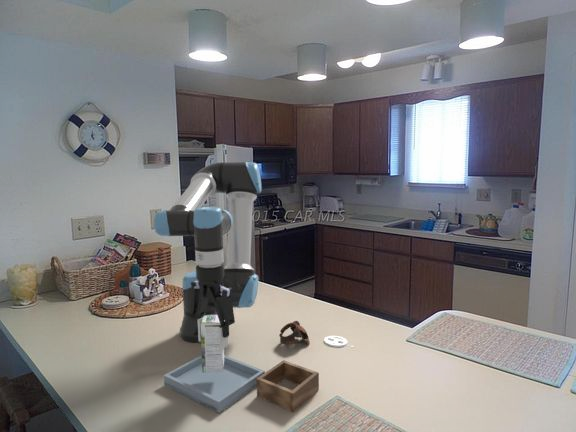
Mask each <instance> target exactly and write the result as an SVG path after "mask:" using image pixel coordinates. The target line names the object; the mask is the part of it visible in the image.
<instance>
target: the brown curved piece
mask: <svg viewBox="0 0 576 432" xmlns="http://www.w3.org/2000/svg"><path fill="white" fill-rule="evenodd" d="M288 329H291V332H292V333H290V334H289V335H287V336H285V335H284V333H285V332H286V331H287V330H288ZM279 337H280V340H279V342H280V343H281V344H283V345H289V344H292V343H293V344H296V338H297V339H298V338H300V339H302V340H305V341H306V344H307V346H310V339H309V335H308V332H307V331H306V328H304V326H302V325H301V324H300V322H299V320H294V321H293V322H289V323H286V324H285V325H284V326H283V327H282V328H281V329H280V333H279Z"/></svg>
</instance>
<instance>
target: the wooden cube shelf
mask: <svg viewBox="0 0 576 432" xmlns="http://www.w3.org/2000/svg"><path fill="white" fill-rule="evenodd" d="M319 376H320V374H319V372H318V371H315V370H312V369H309V368H307V367H304V366H301V365H299V364H295V363H293V362H290V361H287V360H284V359H283V360H282V361H280V362H278V363H277V364H276V365H274V366H273V367H272V368H270V369H268V370H267V371H266V372H265V373H264V374H263V375H261V376H260V377H258V378H257V387H256V396H257V397H259V398H260V399H263V400H265V401H267V402H270V403H271V404H274V405H276V406H279V407H281V408H283V409H285V410H287V411H290V412H291V413H294V412H296V411H297V410H298V409H299V408H300V407H301V406H302V405H304V403H306V401H308V400H309V399H310V398H311V397H312V396H314V394H316V393H317V392H318V391H319V390H320V385H319V384H320V383H319V382H320V381H319V380H320V379H319V378H320V377H319ZM284 380H286V381H288V382H292V383H295V384H297V386H296V387H295V388H294V389H290V388H287V387H284V386H282V385H280V383H281V382H282V381H284Z"/></svg>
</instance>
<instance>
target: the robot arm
mask: <svg viewBox="0 0 576 432" xmlns="http://www.w3.org/2000/svg"><path fill="white" fill-rule="evenodd" d="M260 193H262V178H261V173H260V168H259V165H258V163H256V162H253V161H250V162H249V161H244V162H243V161H242V162H237V161H235V162H233V161H231V162H222V161H221V162H214V163H211V164H209V165H206V166H204V167H203V168H201V169H200V170H198V171H197V172H196V173H194V175H193V176H192V177H191V179H190V183H189V185H188V187H187V188H186V189H185V191H184V192H183V193H182V194H181V196H180V197H179V198H178V199H177V200H176V202H175V203H174V204H173V205H172V207H171V208H170V209H169V210H166V209H165V210H159V211H157V212H156V213H155V215H154V218H153V227H154V232H155V233H156V235H158V236H162V237H163V236H164V237H194V252H195V253H194V254H195V264H196V266H195V270H193V271H190V272H188V273H185V275H184V276H183V277H182V287H181V290H182V303H183V317H182V321H181V322H182V323H181V326H180V329H179V337H180V339H181V340H183V341H185V342H186V343H187V342H189V343H197V344H198V343H201V323H202V320H203V317H204V316H206V315H218V318H219V321H220V324H221V325H220V326H218V328H219V349H221V350H222V349H224V350H225V348H228V346H229V336H230V326H232V325H233V324H235V322H236V321H235V319H236V318H235V313H234V308H235V309H236V308H237V309H243V308H250V307H253V306H254V304H255V301H256V298H257V295H258V290H259V275H257V274H256V273H255V269H254V268H253V267H252V265H251V259H252V258H251V256H252V255H251V254H252V234H253V233H252V229H253V228H252V227H253V224H252V223H253V205H254V203H253V202H254V201H256V200H257V198H258V194H260ZM214 194H225V197H226V198H227V200H228V201H229V209H228V210H229V211H228V210H226V209H223V208H220V207H219V206H204V205H205V202H206V201H207V200H208V198H210V197H211V196H213V195H214ZM203 206H204V207H203ZM226 234H227V248H226V249H227V250H226V264H225V265H224V264H223V263H224V262H225V260H224V259H225V258H224V257H225V255H224V235H226Z"/></svg>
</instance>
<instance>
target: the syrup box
mask: <svg viewBox="0 0 576 432" xmlns="http://www.w3.org/2000/svg"><path fill="white" fill-rule="evenodd" d="M220 325H221V324H220V321H219V318H218V315H206V316H204V317H203V320H202V323H201V342H200V345H201V355H202V372H203V373H208V372H222V371H223V366H224V355H225V348H224V349H222V350H221V349H219V328H218V326H220Z"/></svg>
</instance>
